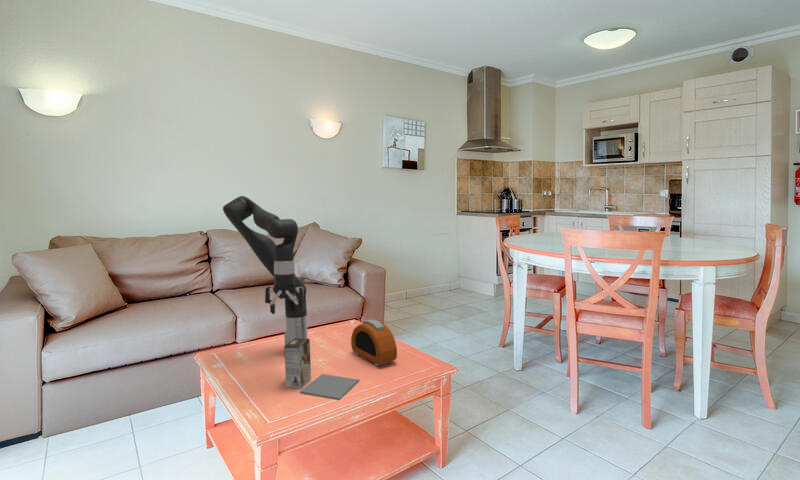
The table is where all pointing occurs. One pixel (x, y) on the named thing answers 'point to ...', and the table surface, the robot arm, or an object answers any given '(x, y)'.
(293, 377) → the coffee box
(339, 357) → the table surface
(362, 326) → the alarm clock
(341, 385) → the mat
